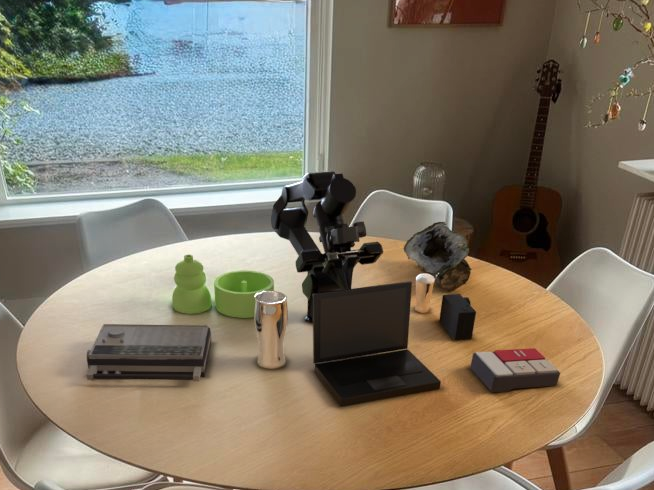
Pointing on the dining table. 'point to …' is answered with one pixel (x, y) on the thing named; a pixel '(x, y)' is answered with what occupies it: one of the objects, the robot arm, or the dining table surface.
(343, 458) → the dining table surface
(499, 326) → the dining table surface
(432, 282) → the shiny metal cylinder
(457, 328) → the digital camera
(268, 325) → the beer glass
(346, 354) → the netbook screen
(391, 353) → the dark flat rectangular base
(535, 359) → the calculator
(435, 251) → the hollow geode rock
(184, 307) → the green toy parts
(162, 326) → the radio
